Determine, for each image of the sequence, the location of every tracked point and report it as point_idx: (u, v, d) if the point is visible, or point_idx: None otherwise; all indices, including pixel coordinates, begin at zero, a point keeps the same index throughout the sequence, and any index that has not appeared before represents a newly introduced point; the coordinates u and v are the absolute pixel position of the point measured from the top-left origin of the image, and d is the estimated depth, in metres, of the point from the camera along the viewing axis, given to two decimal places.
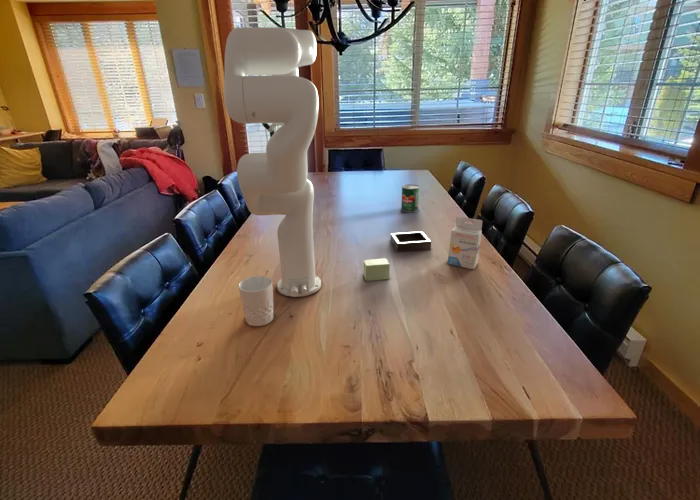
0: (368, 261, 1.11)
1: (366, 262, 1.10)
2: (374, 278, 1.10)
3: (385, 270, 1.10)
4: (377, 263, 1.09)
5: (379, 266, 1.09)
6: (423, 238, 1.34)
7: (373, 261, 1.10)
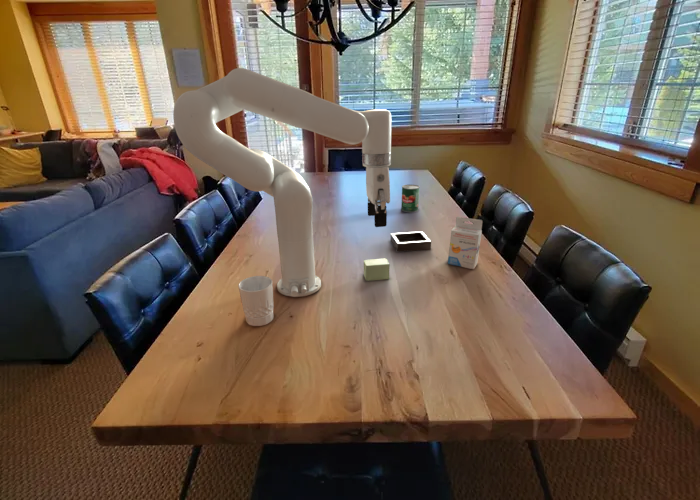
0: (368, 261, 1.11)
1: (366, 262, 1.10)
2: (374, 278, 1.10)
3: (385, 270, 1.10)
4: (377, 263, 1.09)
5: (379, 266, 1.09)
6: (423, 238, 1.34)
7: (373, 261, 1.10)
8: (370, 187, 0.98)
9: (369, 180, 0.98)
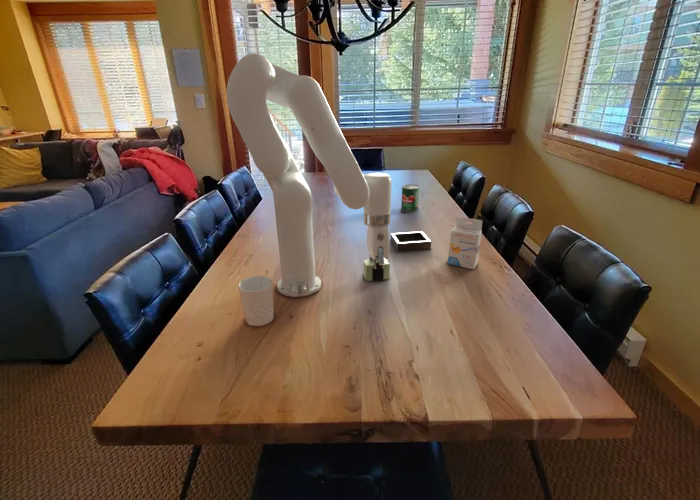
0: (368, 261, 1.11)
1: (366, 262, 1.10)
2: None
3: (385, 270, 1.10)
4: None
5: None
6: (423, 238, 1.34)
7: (373, 261, 1.10)
8: (370, 244, 1.05)
9: (370, 237, 1.05)
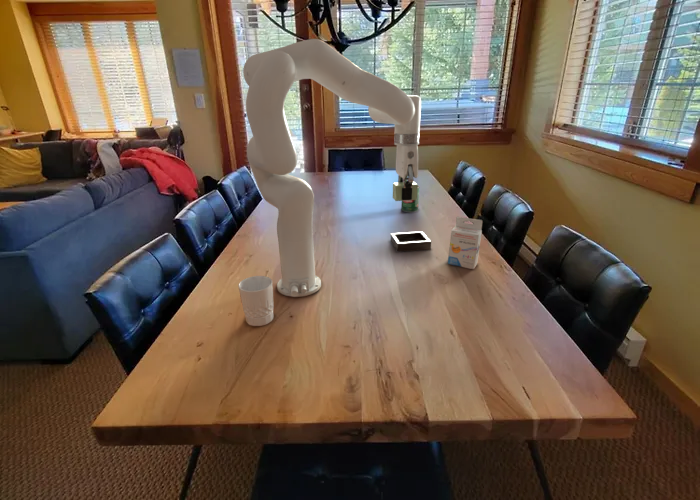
0: (397, 183, 1.19)
1: (395, 183, 1.18)
2: None
3: (413, 190, 1.18)
4: None
5: None
6: (423, 238, 1.34)
7: (402, 183, 1.19)
8: (401, 163, 1.13)
9: (400, 157, 1.13)
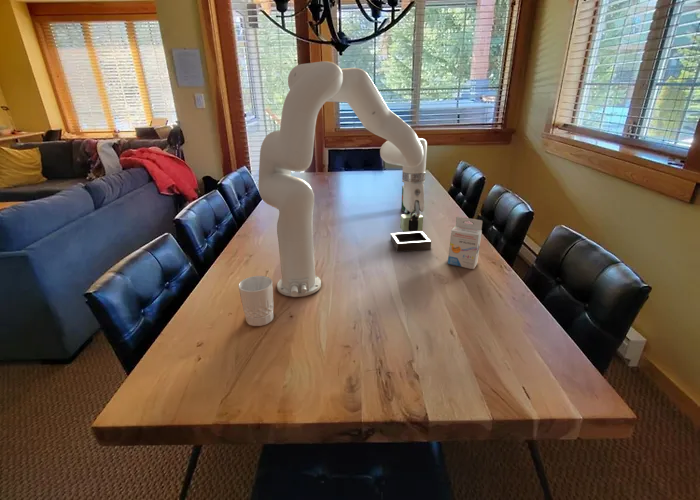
0: (405, 215, 1.31)
1: (403, 216, 1.30)
2: None
3: (419, 222, 1.29)
4: None
5: None
6: (423, 238, 1.34)
7: (409, 215, 1.30)
8: (408, 199, 1.24)
9: (407, 193, 1.24)
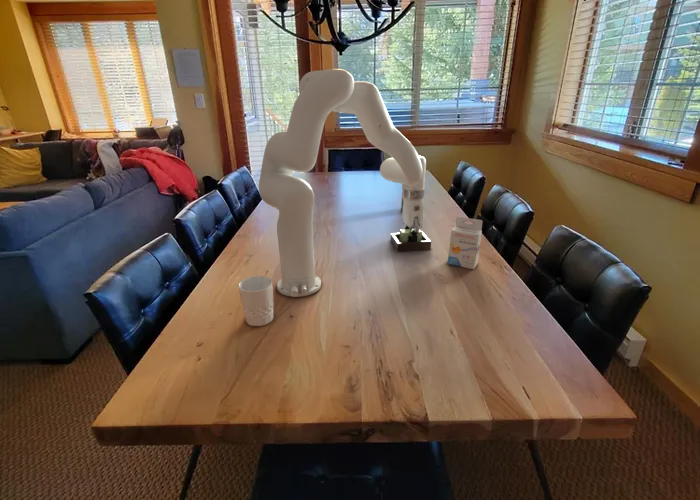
0: (404, 230, 1.33)
1: (402, 231, 1.32)
2: None
3: (418, 237, 1.31)
4: None
5: None
6: (423, 238, 1.34)
7: (408, 230, 1.32)
8: (407, 215, 1.26)
9: (407, 209, 1.27)
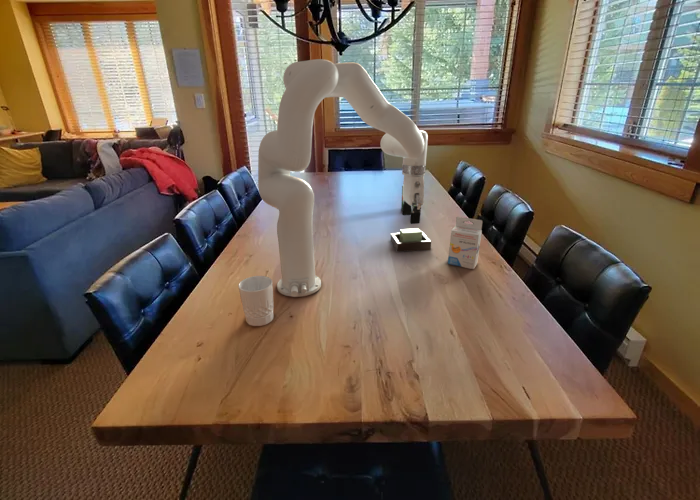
0: (404, 230, 1.33)
1: (402, 231, 1.32)
2: None
3: (418, 237, 1.31)
4: (412, 231, 1.31)
5: (414, 234, 1.31)
6: (423, 238, 1.34)
7: (408, 230, 1.32)
8: (408, 191, 1.23)
9: (407, 186, 1.23)
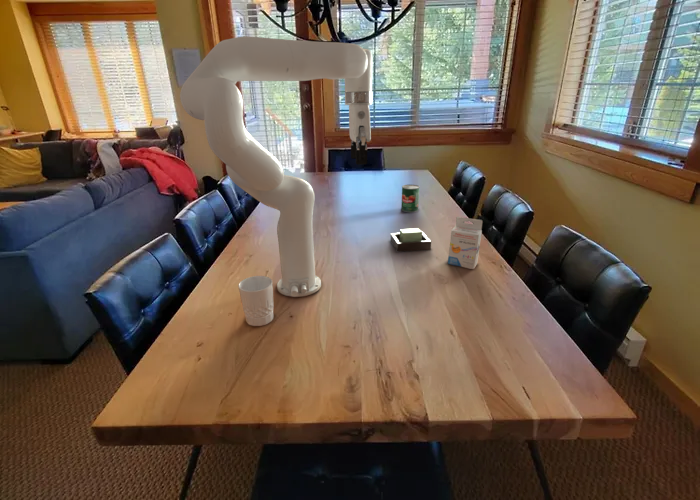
0: (404, 230, 1.33)
1: (402, 231, 1.32)
2: None
3: (418, 237, 1.31)
4: (412, 231, 1.31)
5: (414, 234, 1.31)
6: (423, 238, 1.34)
7: (408, 230, 1.32)
8: (352, 125, 1.04)
9: (351, 118, 1.04)
